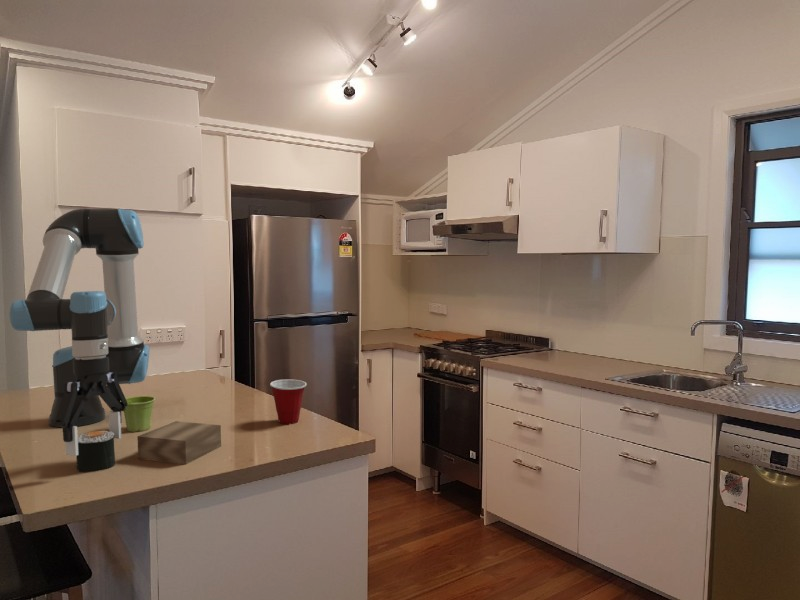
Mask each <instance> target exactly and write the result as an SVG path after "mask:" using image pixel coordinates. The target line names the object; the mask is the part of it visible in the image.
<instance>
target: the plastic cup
mask: <svg viewBox="0 0 800 600" xmlns="http://www.w3.org/2000/svg"><path fill="white" fill-rule="evenodd" d="M307 385H308V384H307V382H306V381H303V380H300V379H290V378H289V379H287V378H286V379H276V380H274V381H271V382H270V384H269V386H270V388H271V390H272V395H273V399H274V405H275V409H276V413H277V419H278V422H279V424H283V425H291V424H296V423H298V422H299V419H300V415H301V409H302V403H303V396H304V392H305V388H306V387H307Z"/></svg>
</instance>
